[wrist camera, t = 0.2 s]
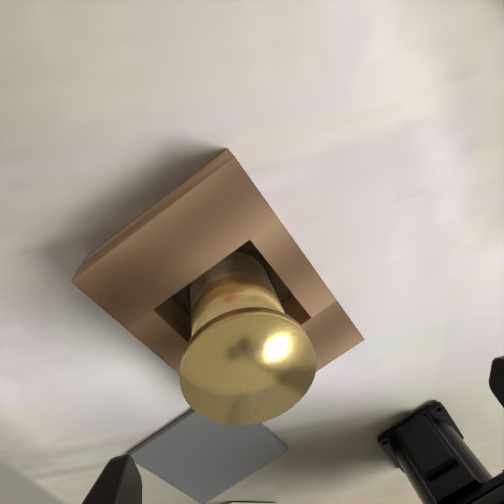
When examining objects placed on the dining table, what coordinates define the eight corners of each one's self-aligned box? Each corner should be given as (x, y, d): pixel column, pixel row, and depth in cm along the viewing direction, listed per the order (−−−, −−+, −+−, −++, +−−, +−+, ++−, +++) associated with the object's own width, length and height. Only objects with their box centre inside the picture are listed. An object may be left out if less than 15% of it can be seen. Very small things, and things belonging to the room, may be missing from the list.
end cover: (292, 291, 23) (339, 376, 16) (221, 341, 24) (235, 444, 17) (240, 225, 20) (268, 291, 13) (161, 282, 21) (149, 374, 14)
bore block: (344, 312, 24) (364, 339, 22) (232, 388, 26) (237, 423, 23) (227, 148, 18) (234, 156, 16) (86, 256, 20) (70, 281, 17)
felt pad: (286, 446, 29) (287, 450, 29) (202, 499, 30) (202, 504, 30) (222, 388, 25) (223, 392, 25) (128, 452, 26) (127, 457, 26)
